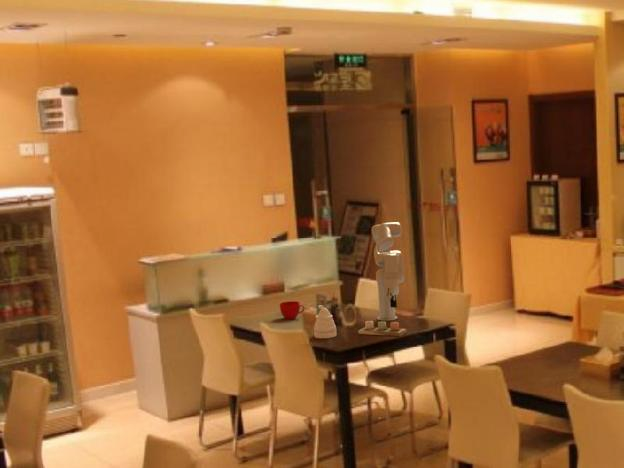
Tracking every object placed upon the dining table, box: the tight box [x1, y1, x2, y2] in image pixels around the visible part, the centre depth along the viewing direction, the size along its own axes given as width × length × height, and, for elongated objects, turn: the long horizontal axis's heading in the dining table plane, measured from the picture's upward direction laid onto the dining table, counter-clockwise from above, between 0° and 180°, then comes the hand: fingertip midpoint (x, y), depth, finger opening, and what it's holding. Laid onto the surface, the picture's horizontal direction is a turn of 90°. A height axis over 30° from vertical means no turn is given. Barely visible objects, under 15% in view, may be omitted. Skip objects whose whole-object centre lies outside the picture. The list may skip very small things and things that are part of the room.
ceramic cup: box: [279, 300, 305, 320], centre depth 562 cm, size 13×17×10 cm
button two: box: [377, 321, 387, 330], centre depth 502 cm, size 5×5×4 cm
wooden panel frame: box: [357, 326, 408, 337], centre depth 502 cm, size 10×26×2 cm, turn 61°
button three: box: [390, 321, 400, 331], centre depth 498 cm, size 5×5×4 cm
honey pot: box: [313, 304, 338, 339], centre depth 504 cm, size 13×13×18 cm
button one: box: [364, 320, 375, 329], centre depth 506 cm, size 5×5×4 cm
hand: (393, 307), depth 496 cm, fingers closed
